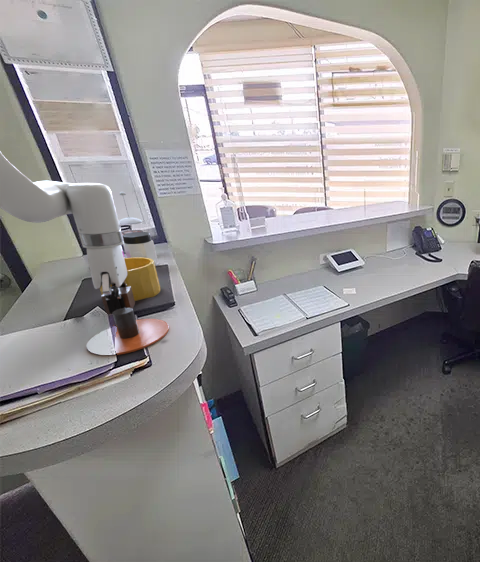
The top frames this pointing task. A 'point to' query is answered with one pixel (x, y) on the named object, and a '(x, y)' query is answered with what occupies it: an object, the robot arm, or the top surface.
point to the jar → (140, 245)
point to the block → (127, 296)
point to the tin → (141, 277)
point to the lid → (136, 331)
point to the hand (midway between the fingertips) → (121, 307)
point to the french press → (129, 222)
